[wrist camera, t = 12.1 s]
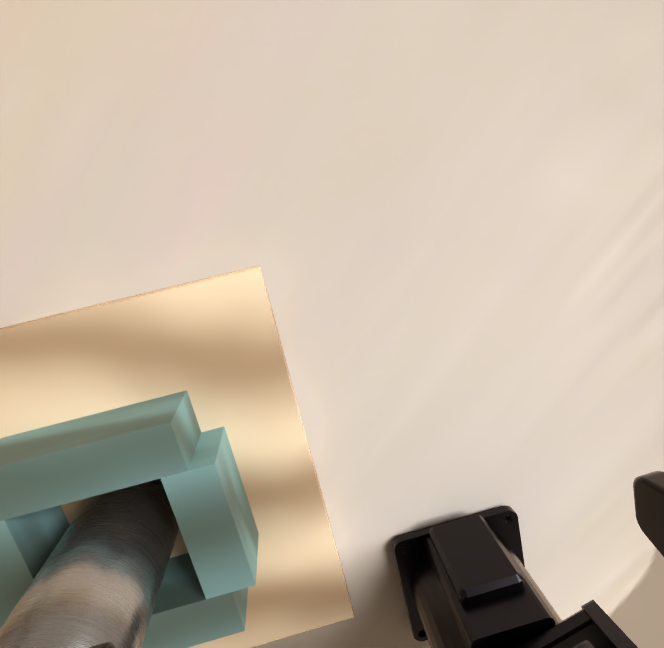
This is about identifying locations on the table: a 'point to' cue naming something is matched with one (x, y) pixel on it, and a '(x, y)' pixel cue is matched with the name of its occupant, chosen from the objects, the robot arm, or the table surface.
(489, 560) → the robot arm
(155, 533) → the steel pin
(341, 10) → the table surface
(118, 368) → the socket board
